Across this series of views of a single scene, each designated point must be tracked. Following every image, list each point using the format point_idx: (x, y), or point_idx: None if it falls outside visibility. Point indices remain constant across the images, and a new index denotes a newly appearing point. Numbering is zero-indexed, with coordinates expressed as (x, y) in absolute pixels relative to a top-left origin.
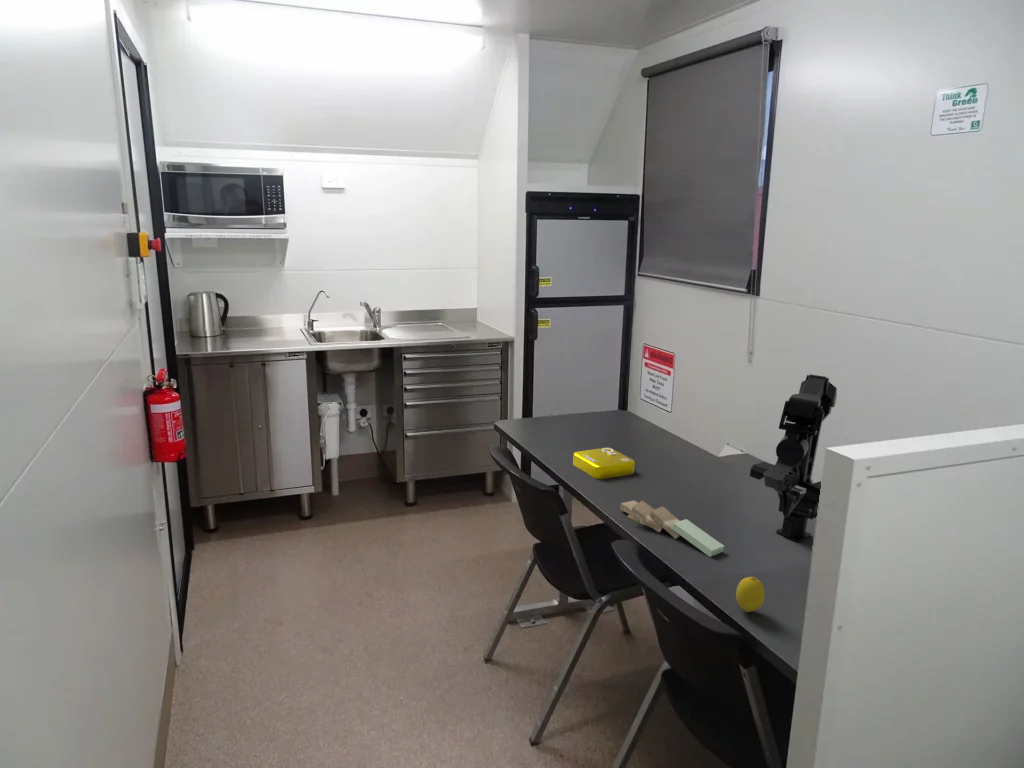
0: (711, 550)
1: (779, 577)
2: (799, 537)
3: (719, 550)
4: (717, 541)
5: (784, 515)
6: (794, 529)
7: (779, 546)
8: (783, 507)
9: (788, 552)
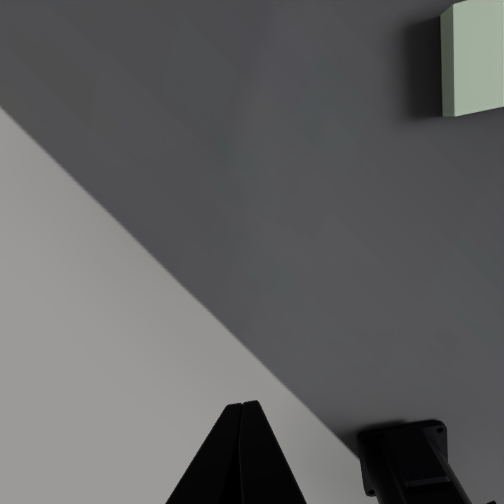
0: (456, 4)
1: (185, 195)
2: (370, 454)
3: (447, 85)
4: (501, 104)
5: (244, 403)
6: (390, 466)
7: (364, 363)
8: (255, 463)
9: (318, 359)
